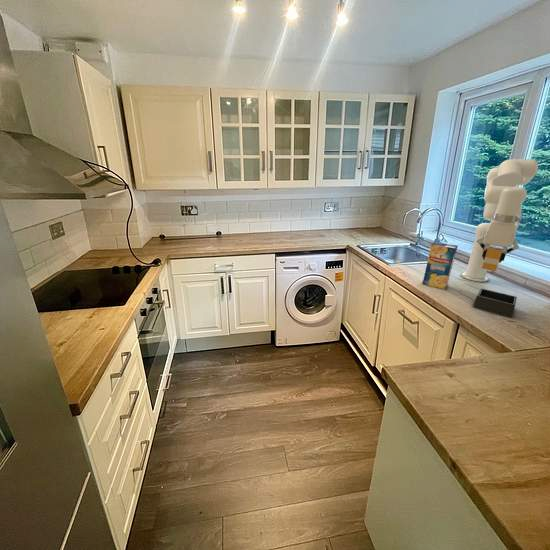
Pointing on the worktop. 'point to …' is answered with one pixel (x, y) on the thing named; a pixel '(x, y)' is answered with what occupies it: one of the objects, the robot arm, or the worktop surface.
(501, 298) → the basket
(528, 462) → the worktop surface
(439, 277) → the blue yellow food box
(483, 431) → the worktop surface
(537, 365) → the worktop surface
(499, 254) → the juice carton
